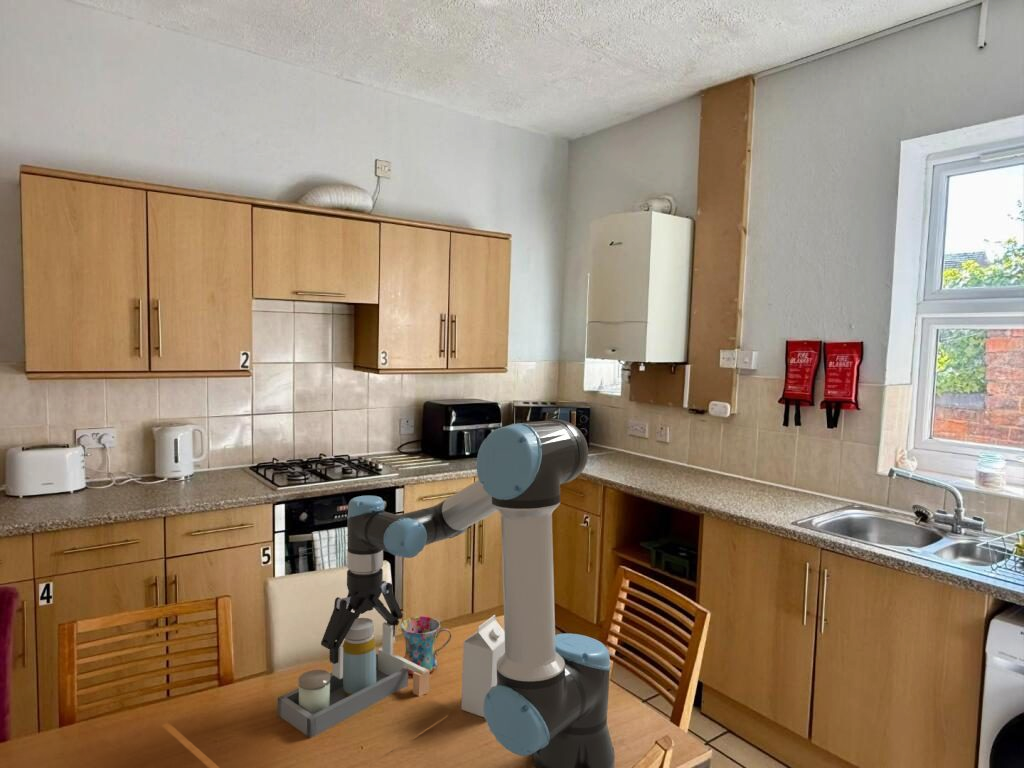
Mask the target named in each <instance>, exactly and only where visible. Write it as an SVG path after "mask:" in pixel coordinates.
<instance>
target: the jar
mask: <svg viewBox="0 0 1024 768" xmlns="http://www.w3.org/2000/svg"><path fill="white" fill-rule="evenodd" d="M330 673H331V672H329V671H326V670H324V669H312V670H308V671H306V672H303V673H302V674H301V675H300V676H299V677H298V679H297V680H298V688H299V706H300V707H301V708H303V709H304V710H306V711H307V712H309V713H311V714H312V715H313V714H315V713H317V712H319V711H321V710H323V709H325V708H327V707H329V706H330Z"/></svg>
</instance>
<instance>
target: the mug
mask: <svg viewBox="0 0 1024 768" xmlns="http://www.w3.org/2000/svg"><path fill="white" fill-rule="evenodd" d="M440 622H441V621H439V620H438V619H436V618H435V617H430V616H423V615H419V616H413V617H409V618H406V619H405V620H403V621H402V622H401V624H400V630H401V633H402V634H403V637H404V643H405V653H404V657H403V658H404V659H406V660H408V661H410V662H412V663H415V664H417V665H419V666H421V667H424V668H426V669H428V670H430V673H432V672H433V671H435V670H436V669H437V667H438V664H439V663H438V660H437V658H436V656H437V657H438V656H439V653H438V652H439V651H441V650H442V649H444V648H445V647H446V646H448V644H449V642H450V641H451V639H452V631H451V629H448V628H442V629H440V628H441V623H440ZM442 632H448V633H449V637H448V639H447V640H446V641H445V643H444V644H443V645H442V646H440V647H438V648H437V649H435V643H436V639H437V638H438V636H439V634H441V633H442ZM406 669H407V668H406ZM408 674H411V675H413V671H411V670H409V669H408Z"/></svg>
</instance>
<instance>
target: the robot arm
mask: <svg viewBox="0 0 1024 768" xmlns="http://www.w3.org/2000/svg"><path fill="white" fill-rule="evenodd" d="M476 456H477V458H476V474H477V475H476V476H477V478H478V479H477V480H476V481H474V482H473V483H470V484H469V485H467V486H465V487H464V488H462V489H461V490H459V491H458V492H456V493H454V494H452V495H451V496H449V497H447V498H446V499H445V500H443V501H441V502H439V503H438V504H435V505H434V506H433V505H432V506H430V507H427V508H421V509H418V510H417V509H416V510H414V511H413V510H412V511H410V512H406V513H401V514H394V513H391V512H388V511H385V502H384V500H383V498H382V497H380V496H377V495H361V496H360V495H359V496H356V497H353V498H351V499H350V500H349V502H348V508H347V509H348V510H347V511H348V512H347V516H346V519H347V528H346V529H347V539H346V540H347V542H346V543H347V546H346V547H347V554H346V556H347V558H346V559H347V560H346V561H347V563H346V567H347V569H348V570H347V571H346V588H347V590H348V592H347V593H348V594H347V596H346V597H343V598H341V597H340V596H339V597H335V599H334V605H333V606H334V607H333V611H332V613H331V616H330V618H329V621H328V623H327V626H326V628H325V631H324V634H323V637H322V639H321V643H320V645H321V646H322V647H323V648H326V649H327V650H329V662H330V663H332V664H331V673H332V675H334V676H335V677H337V678H339V679H341V678H343V643H344V641H345V637H346V635H347V633H348V631H349V630H350V628H351V626H352V624H353V623H354V621H355V619H357V618H360V616H361V615H362V614H365V613H366V612H368V611H369V612H370V611H373V610H374V609H375V610H376V611H377V613H378V614H379V615H380V616H381V617H382V619H384V620H385V622H382V646H381V648H382V651H383V652H385V653H387V654H389V655H391V654H394V638H395V636H396V626H399V624H400V620H402V619H403V616H404V614H403V612H402V610H401V608H400V605H399V602H398V601H397V599H396V597H395V594H394V590H393V587H394V586H393V584H392V583H391V582H388V581H386V580H384V579H383V576H384V575H383V573H384V571H383V568H382V567H383V566H384V552H386V553H388V554H391V555H393V556H397V557H399V558H400V557H402V558H405V559H412V558H414V557H417V556H418V555H419V554H420V553H421V552H423V549H424V548H425V546H427V545H430V544H433V543H436V542H440V541H444V540H448V539H453V538H455V537H457V536H459V535H461V534H463V533H465V532H466V531H467V529H468V528H469V527H470V526H473V525H474V524H476V523H478V522H480V521H481V520H485V519H486V518H488V517H489V516H492V515H493V514H495V513H497V512H499V514H500V515H501V516H500V520H501V525H500V526H501V552H502V555H501V556H502V559H501V560H502V586H503V587H502V589H503V593H502V594H503V623H504V625H503V627H504V629H503V630H504V632H505V653H504V654H503V655H502V656H501V657H500V658H499V659H498V661H497V685H496V686H493V687H492V688H491V689H490V690H489V692H488V693H487V694H486V696H485V699H484V715H485V718H484V719H485V722H486V724H487V726H488V729H489V731H490V733H491V734H493V736H494V737H495V739H496V741H497V742H498V743H499V744H500V745H501V746H502V747H503V748H505V749H506V750H507V751H509V752H511V753H513V754H515V755H518V756H521V757H522V756H524V757H525V756H531V755H533V761H534V765H535V767H536V768H615V759H616V758H615V757H616V755H615V753H616V752H615V748H614V745H613V741H612V738H611V735H610V734H611V733H610V730H609V726H608V709H609V707H608V706H609V688H610V687H609V686H610V670H611V668H612V667H611V664H610V663H611V662H610V660H611V659H610V656H611V655H610V651H609V650H608V648H607V647H606V645H605V644H604V643H603V642H601V641H599V640H597V639H595V638H592V637H590V636H587V635H583V634H578V633H567V632H565V633H559V634H556V621H555V620H556V619H555V616H556V615H555V579H554V578H555V577H554V545H553V543H554V542H553V539H554V538H553V513H554V511H555V510H556V509H557V508H558V507H559V506H560V505H561V485H563V484H566V483H567V484H568V483H569V482H572V481H573V480H575V479H576V478H577V477H579V476H580V475H581V474H582V472H583V471H584V469H585V468H586V465H587V463H588V458H589V447H588V442H587V439H586V437H585V436H584V434H583V433H582V431H580V429H579V428H578V427H577V426H575V425H574V424H573V423H571V422H569V421H565V420H562V419H556V418H553V419H547V420H542V421H541V420H540V421H529V422H521V423H520V422H519V423H511V424H509V425H506V426H502V427H498V428H496V429H494V430H493V431H491V432H490V433H489V434H488V435H487V437H486V438H484V440H483V441H482V443H481V444H480V447H479V449H478V452H477V455H476ZM381 594H382V596H383V598H384V600H385V603H386V605H387V607H388V608H387V607H386V606H385V604H384V603H383V601H381V599H380V597H381ZM353 611H354V612H353Z"/></svg>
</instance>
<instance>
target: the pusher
mask: <svg viewBox="0 0 1024 768" xmlns="http://www.w3.org/2000/svg"><path fill="white" fill-rule="evenodd" d="M377 654H378V670H379V671H381V672H382V673H384V674H386V675H388V676H390V675H392V674H394V673H395V672H397V671H399V670H401V669H403V668H407V669H409V670H411V671H413V674H412V694H414V695H415V696H417V697H421V696H422V695H423V696H424V695H425V694H427V693H429V692H430V675H431V672H430V670H428V669H426V668H424V667H421V666H419V665H417V664H415V663H412V662H410V661H408V660H406V659H404V657H402V656H401V655H398V654H395V653H393V654H391V655H389V654H387V653H385V652H383V651H382V647H380V648H378V649H377Z"/></svg>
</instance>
